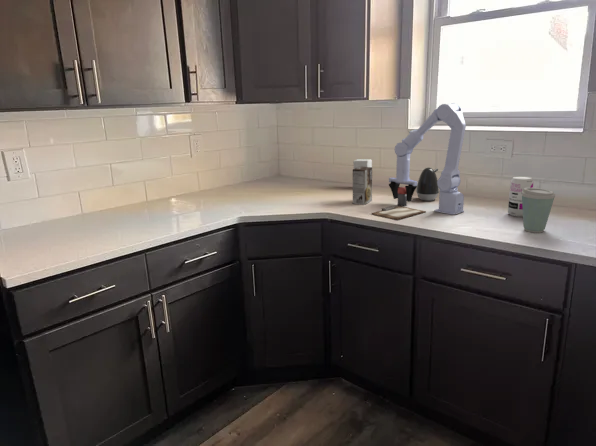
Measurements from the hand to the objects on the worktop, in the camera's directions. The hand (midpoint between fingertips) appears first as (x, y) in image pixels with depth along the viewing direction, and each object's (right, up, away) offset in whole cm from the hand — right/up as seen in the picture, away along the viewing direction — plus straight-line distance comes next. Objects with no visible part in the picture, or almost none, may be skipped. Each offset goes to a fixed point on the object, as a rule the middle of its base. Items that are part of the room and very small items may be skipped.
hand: (402, 199), depth 211 cm
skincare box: (-12, +8, +41) cm, 43 cm away
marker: (0, -2, +1) cm, 2 cm away
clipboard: (-5, -6, -14) cm, 16 cm away
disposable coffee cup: (+37, -13, -44) cm, 59 cm away
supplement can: (+42, -7, -22) cm, 48 cm away
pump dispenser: (+14, 0, +10) cm, 17 cm away
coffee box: (-17, -1, +9) cm, 19 cm away
